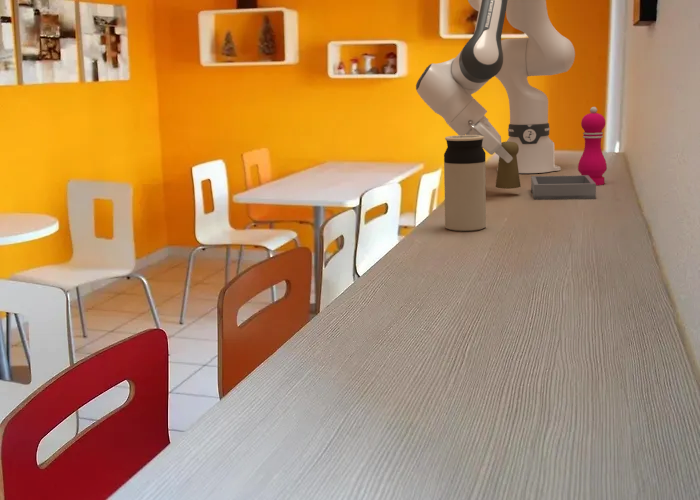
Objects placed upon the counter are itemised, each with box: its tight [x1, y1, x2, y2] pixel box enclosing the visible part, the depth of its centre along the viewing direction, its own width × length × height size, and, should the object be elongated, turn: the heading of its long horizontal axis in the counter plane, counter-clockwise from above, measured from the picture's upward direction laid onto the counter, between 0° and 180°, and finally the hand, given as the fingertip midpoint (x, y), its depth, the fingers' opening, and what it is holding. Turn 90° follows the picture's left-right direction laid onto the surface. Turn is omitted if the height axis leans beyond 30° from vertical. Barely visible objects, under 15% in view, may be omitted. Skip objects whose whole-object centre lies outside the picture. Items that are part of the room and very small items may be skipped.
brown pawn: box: [495, 140, 522, 190], centre depth 198 cm, size 6×6×11 cm
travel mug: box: [443, 134, 487, 232], centre depth 159 cm, size 8×8×18 cm
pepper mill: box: [577, 106, 608, 187], centre depth 211 cm, size 7×7×20 cm
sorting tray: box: [530, 174, 597, 201], centre depth 198 cm, size 16×14×4 cm
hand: (510, 159), depth 198 cm, fingers closed on brown pawn, 5 cm apart
